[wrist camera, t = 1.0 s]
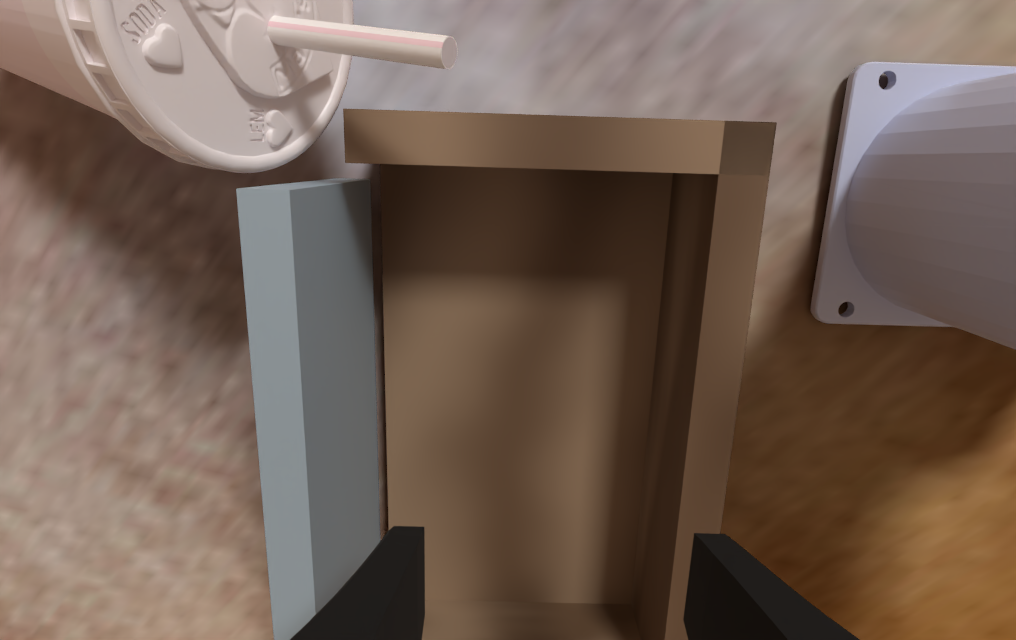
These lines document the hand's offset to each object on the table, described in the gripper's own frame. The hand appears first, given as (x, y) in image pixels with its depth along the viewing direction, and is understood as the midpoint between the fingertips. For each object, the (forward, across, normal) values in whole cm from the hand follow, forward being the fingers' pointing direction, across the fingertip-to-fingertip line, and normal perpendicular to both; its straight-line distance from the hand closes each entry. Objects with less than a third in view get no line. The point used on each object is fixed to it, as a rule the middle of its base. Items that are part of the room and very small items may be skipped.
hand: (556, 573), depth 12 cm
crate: (+9, 0, 0) cm, 9 cm away
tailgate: (+8, +5, 0) cm, 10 cm away
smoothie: (+7, +15, -12) cm, 21 cm away
